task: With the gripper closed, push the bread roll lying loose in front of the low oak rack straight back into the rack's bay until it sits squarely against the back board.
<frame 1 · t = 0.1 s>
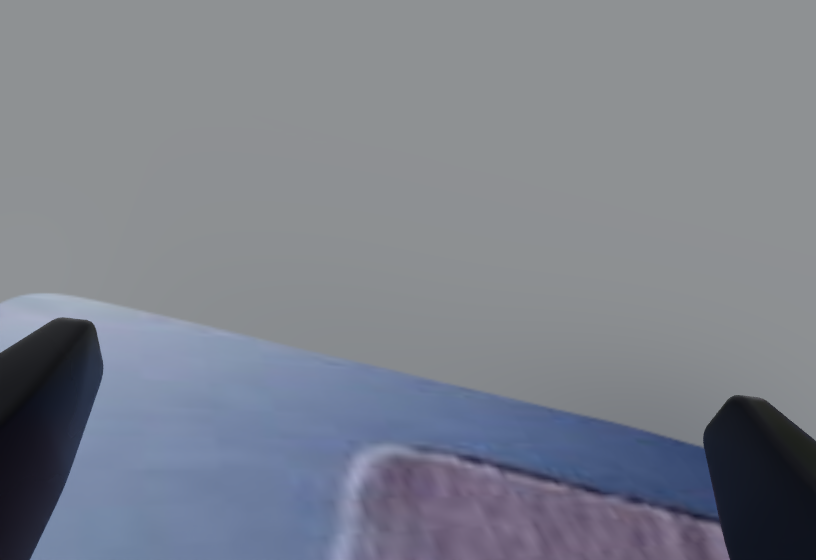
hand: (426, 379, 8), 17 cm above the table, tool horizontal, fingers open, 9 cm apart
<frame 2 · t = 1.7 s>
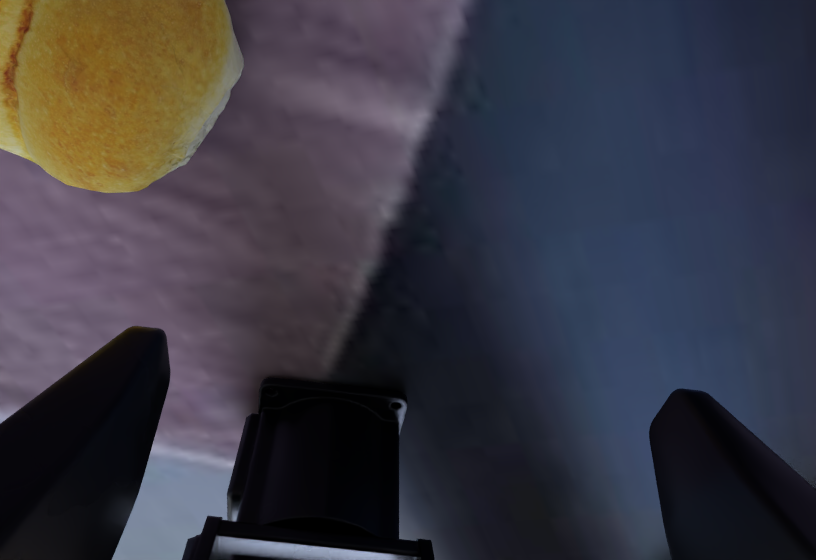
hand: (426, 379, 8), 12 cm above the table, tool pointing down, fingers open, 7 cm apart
bread roll: (90, 20, 17), on the table
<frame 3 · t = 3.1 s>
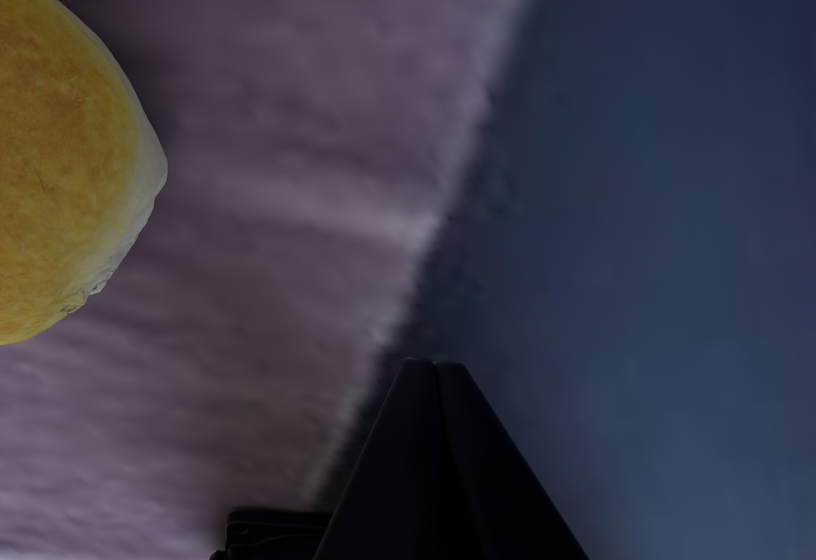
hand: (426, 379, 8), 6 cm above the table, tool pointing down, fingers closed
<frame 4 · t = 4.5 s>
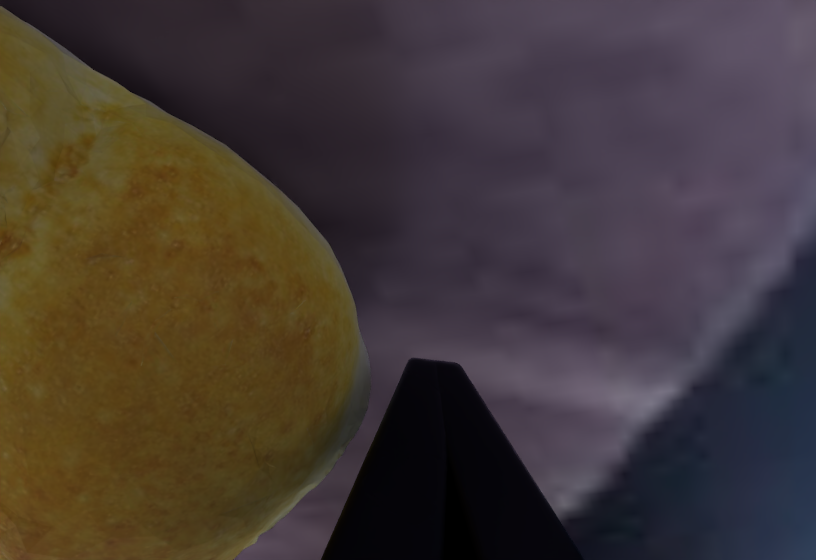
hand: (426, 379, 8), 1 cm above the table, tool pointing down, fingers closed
bread roll: (70, 272, 9), on the table, touching gripper
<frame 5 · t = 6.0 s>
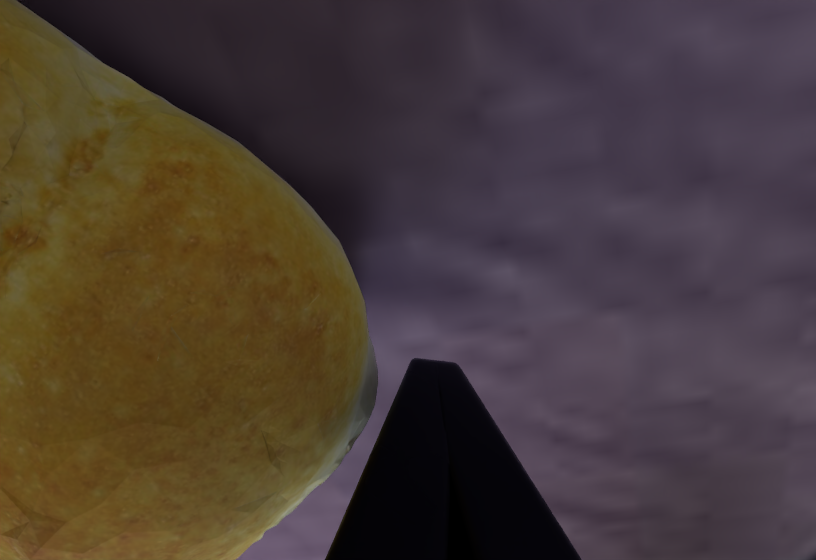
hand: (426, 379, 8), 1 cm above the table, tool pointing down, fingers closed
bread roll: (74, 268, 9), on the table, touching gripper
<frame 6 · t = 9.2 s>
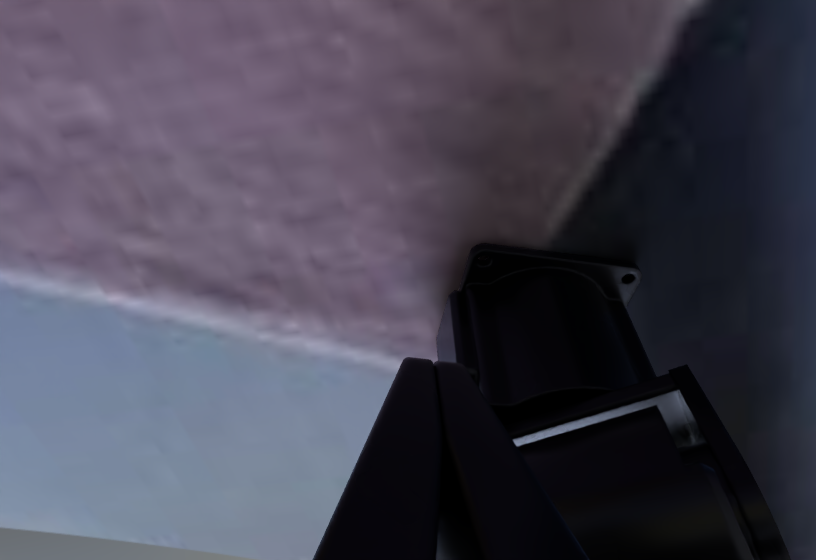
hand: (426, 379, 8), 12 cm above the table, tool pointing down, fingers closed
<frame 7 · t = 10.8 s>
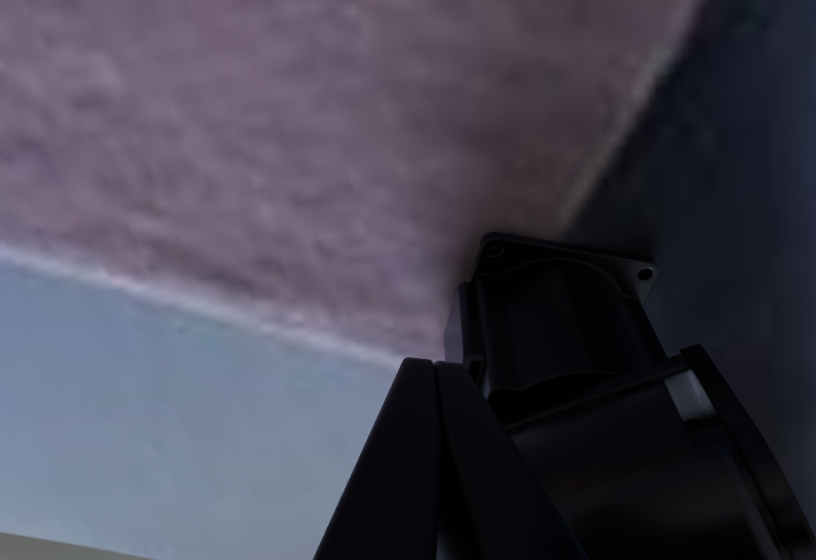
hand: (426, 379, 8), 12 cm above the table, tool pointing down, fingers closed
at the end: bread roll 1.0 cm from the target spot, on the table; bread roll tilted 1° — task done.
